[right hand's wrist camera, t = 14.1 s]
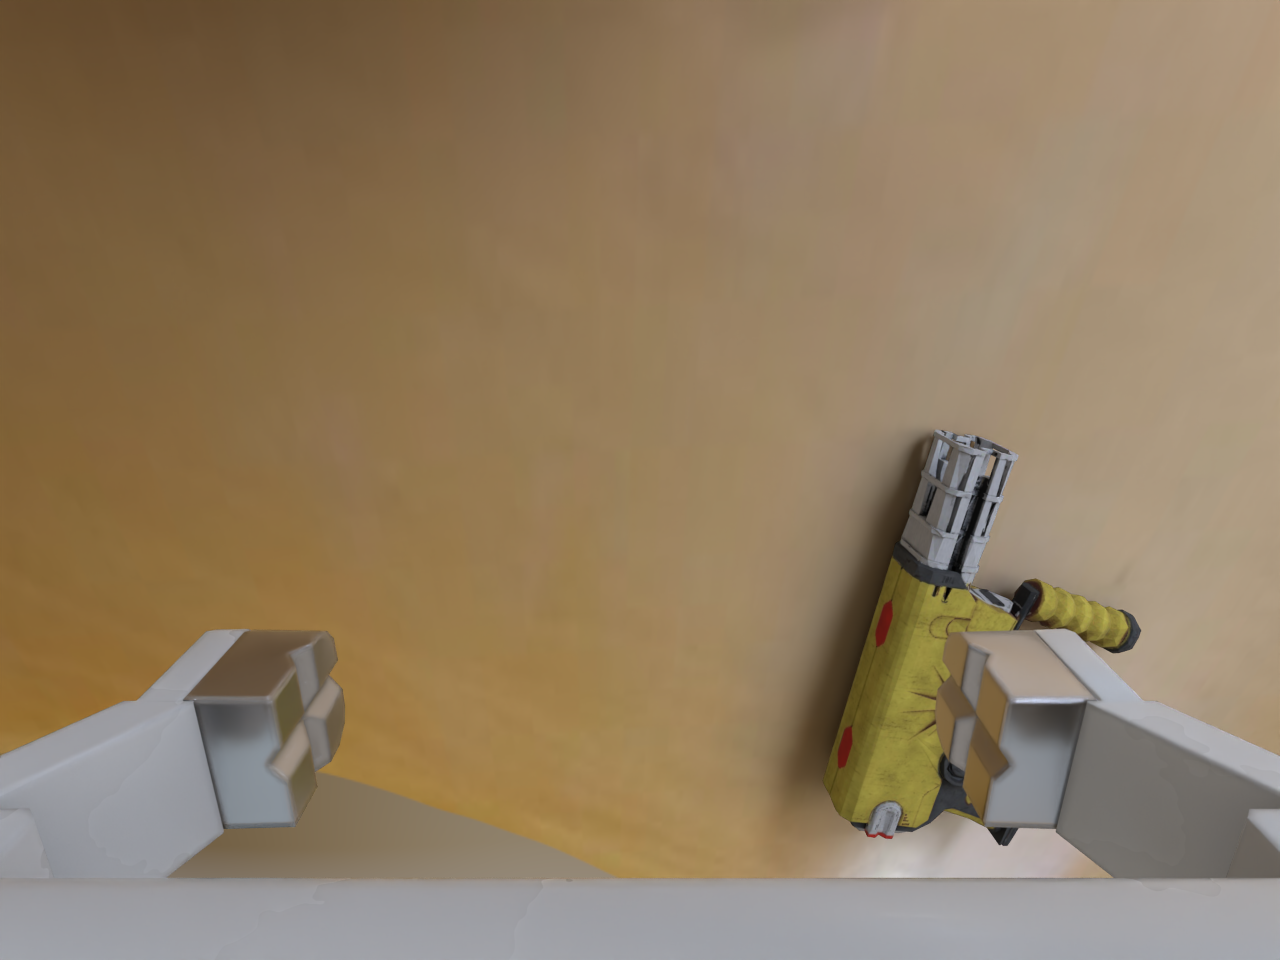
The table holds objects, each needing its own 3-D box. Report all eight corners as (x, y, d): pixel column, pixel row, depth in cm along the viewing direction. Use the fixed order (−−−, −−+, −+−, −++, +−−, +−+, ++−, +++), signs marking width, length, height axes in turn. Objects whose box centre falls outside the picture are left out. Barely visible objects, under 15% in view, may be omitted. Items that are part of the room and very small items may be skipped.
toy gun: (1228, 492, 40) (965, 449, 38) (1066, 860, 47) (836, 842, 45) (1161, 465, 45) (922, 425, 42) (1022, 805, 52) (811, 786, 49)
